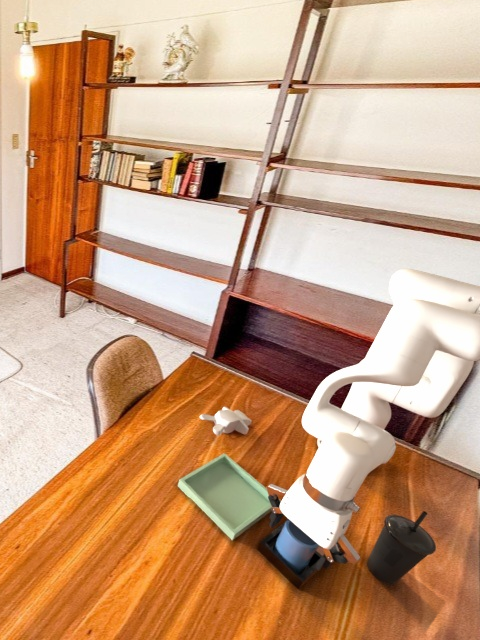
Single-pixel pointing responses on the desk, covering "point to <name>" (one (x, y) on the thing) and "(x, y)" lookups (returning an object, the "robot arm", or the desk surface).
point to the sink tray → (227, 495)
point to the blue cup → (295, 546)
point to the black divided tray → (282, 566)
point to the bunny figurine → (228, 421)
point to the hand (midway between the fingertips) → (296, 543)
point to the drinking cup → (399, 548)
